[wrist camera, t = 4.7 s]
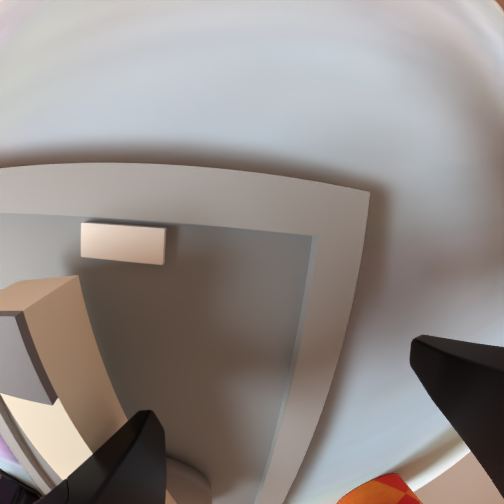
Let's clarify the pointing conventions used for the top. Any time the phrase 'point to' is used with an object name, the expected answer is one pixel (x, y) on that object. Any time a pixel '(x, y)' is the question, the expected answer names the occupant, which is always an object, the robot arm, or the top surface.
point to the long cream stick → (67, 382)
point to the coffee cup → (382, 492)
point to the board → (197, 303)
